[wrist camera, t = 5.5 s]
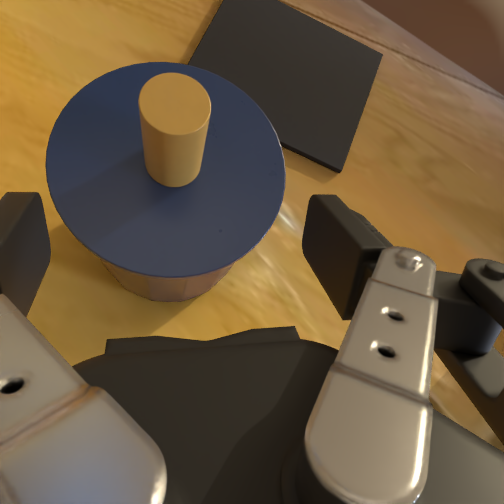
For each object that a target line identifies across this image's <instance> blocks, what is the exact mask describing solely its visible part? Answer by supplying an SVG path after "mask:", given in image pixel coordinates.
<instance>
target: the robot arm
mask: <svg viewBox="0 0 504 504" xmlns="http://www.w3.org/2000/svg"><path fill="white" fill-rule="evenodd" d="M302 249H303V254H304V256H305V258H306V260H307V262H308V263H309V265H310V267H311V268H312V270H313V272H314V273H315V275H316V277H317V278H318V280H319V282H320V283H321V285H322V287H323V288H324V290H325V291H326V293H327V295H328V296H329V298H330V300H331V301H332V303H333V305H334V306H335V308H336V310H337V311H338V313H339V315H340V316H341V318H342V320H351V322H350V325H349V327H348V330H347V332H346V335H345V337H344V340H343V342H342V345H341V347H340V349H339V350H337V349H334V348H332V347H329V346H327V345H324V344H321V343H317V342H314V341H309V340H303V339H300V337H299V335H298V333H297V331H296V328H295V326H289V327H275V328H261V329H251V330H247V331H243V332H240V333H236V334H232V335H229V336H225V337H221V338H217V339H214V340H209V341H199V340H190V339H181V338H172V337H163V336H148V337H134V338H119V339H107V342H106V349H105V354H103V355H100V356H96V357H93V358H91V359H88V360H85V361H83V362H81V363H78V364H76V365H74V366H72V367H71V366H70V365H69V363H68V362H67V361H66V360H65V359H64V358H63V357H62V356H61V355H60V354H59V353H58V352H57V351H56V349H55V348H54V347H53V346H52V345H51V344H50V343H49V342H48V341H47V340H46V339H45V338H44V337H43V335H42V334H41V333H40V332H39V331H38V330H37V329H36V328H35V327H34V326H33V325H32V324H31V323H30V321H29V320H28V319H27V318H26V317H27V314H28V312H29V310H30V307H31V305H32V303H33V300H34V298H35V296H36V293H37V291H38V289H39V286H40V284H41V282H42V279H43V277H44V274H45V272H46V270H47V267H48V265H49V262H50V256H51V247H50V240H49V234H48V229H47V224H46V219H45V214H44V208H43V203H42V199H41V196H40V195H39V193H38V192H7V193H6V194H5V195H4V196H3V197H2V199H1V200H0V504H504V453H503V452H502V451H500V450H499V449H497V448H495V447H494V446H492V445H491V444H489V443H487V442H486V441H484V440H483V439H481V438H479V437H478V436H476V435H475V434H473V433H471V432H470V431H468V430H467V429H465V428H463V427H462V426H460V425H459V424H457V423H455V422H454V421H452V420H451V419H449V418H447V417H446V416H444V415H443V414H441V413H439V412H438V411H436V410H435V409H433V408H432V404H431V403H430V402H429V390H430V380H431V370H432V360H433V350H434V351H435V353H436V354H437V355H438V357H439V358H440V359H441V361H442V362H443V363H444V365H445V366H446V368H447V369H448V370H449V372H450V373H451V374H452V376H453V377H454V378H455V380H456V381H457V382H458V384H459V385H460V387H461V388H462V389H463V391H464V392H465V393H466V395H467V396H468V397H469V399H470V400H471V401H472V403H473V404H474V406H475V407H476V408H477V410H478V411H479V412H480V414H481V415H482V416H483V418H484V419H485V420H486V422H487V423H488V425H489V426H490V427H491V429H492V430H493V431H494V433H495V434H496V435H497V437H498V438H499V439H500V441H501V442H502V444H503V445H504V358H503V356H502V355H501V354H500V353H499V352H498V351H497V350H496V349H495V348H494V347H493V345H494V343H495V341H496V339H497V337H498V335H499V333H500V332H501V330H502V328H503V329H504V264H502V263H499V262H496V261H492V260H488V259H471V260H469V261H468V262H467V263H466V266H465V268H464V270H463V273H462V274H456V273H449V272H443V271H436V264H435V262H434V261H433V260H432V259H431V258H430V257H428V256H427V255H425V254H423V253H421V252H419V251H417V250H414V249H410V248H406V247H398V246H393V245H392V244H391V243H390V242H389V241H388V240H387V239H386V238H385V237H384V236H383V235H382V234H381V233H380V232H378V230H377V229H376V228H375V227H374V226H373V225H371V223H370V222H369V221H368V220H367V219H366V218H365V217H364V216H362V215H360V214H359V213H357V212H355V211H353V210H351V209H349V208H348V207H347V206H346V205H345V204H344V203H343V202H342V201H341V199H340V198H339V197H338V196H336V195H312V196H311V198H310V200H309V204H308V210H307V215H306V221H305V227H304V232H303V238H302Z"/></svg>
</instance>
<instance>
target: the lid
mask: <svg viewBox="0 0 504 504" xmlns="http://www.w3.org/2000/svg"><path fill="white" fill-rule="evenodd" d="M46 176H47V183H48V187H49V191H50V195H51V198H52V200H53V203H54V205H55V208H56V210H57V212H58V213H59V215H60V217H61V218H62V220H63V222H64V223H65V225H66V226H67V227H68V229H69V230H70V231H71V232H72V234H73V235H74V236H75V237H76V239H77V240H78V241H79V242H80V243H82V244H83V245H84V246H85V247H86V248H87V249H88V250H89V251H90V252H92V253H93V254H95V255H96V256H97V257H99V258H100V259H102V260H103V261H105V262H107V263H109V264H111V265H113V266H114V267H116V268H118V269H121V270H124V271H126V272H129V273H132V274H135V275H139V276H144V277H148V278H155V279H165V280H174V279H188V278H195V277H200V276H204V275H207V274H211V273H214V272H216V271H219V270H221V269H223V268H226V267H228V266H230V265H231V264H233V263H235V262H236V261H238V260H239V259H241V258H242V257H244V256H245V255H246V254H247V253H248V252H250V251H251V250H252V249H253V248H254V247H255V246H256V245H257V244H258V243H259V242H260V241H261V240H262V238H263V237H264V236H265V234H266V233H267V232H268V230H269V229H270V227H271V226H272V224H273V222H274V220H275V218H276V216H277V214H278V212H279V209H280V206H281V203H282V200H283V195H284V190H285V177H286V172H285V161H284V156H283V152H282V147H281V145H280V142H279V139H278V136H277V134H276V132H275V130H274V128H273V126H272V124H271V122H270V121H269V120H268V118H267V117H266V115H265V114H264V112H263V111H262V110H261V109H260V107H259V106H258V105H257V104H256V103H255V102H254V101H253V100H252V99H251V98H250V97H249V96H248V95H247V94H246V93H245V92H243V91H242V90H241V89H239V88H238V87H237V86H235V85H234V84H232V83H231V82H229V81H227V80H226V79H224V78H222V77H220V76H218V75H216V74H214V73H211V72H209V71H207V70H203V69H200V68H197V67H194V66H190V65H185V64H180V63H170V62H148V63H140V64H134V65H130V66H126V67H122V68H119V69H116V70H114V71H111V72H108V73H106V74H104V75H102V76H100V77H99V78H97V79H95V80H93V81H92V82H90V83H89V84H88V85H86V86H85V87H83V88H82V89H81V90H80V91H79V92H78V93H77V94H76V95H75V96H74V97H73V98H72V99H71V100H70V101H69V102H68V104H67V105H66V106H65V107H64V109H63V110H62V112H61V113H60V115H59V117H58V118H57V120H56V122H55V124H54V127H53V129H52V132H51V134H50V137H49V142H48V146H47V151H46Z"/></svg>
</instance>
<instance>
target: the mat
mask: <svg viewBox="0 0 504 504" xmlns="http://www.w3.org/2000/svg"><path fill="white" fill-rule="evenodd" d="M382 56H383V54H381V53H379V52H377V51H375V50H373V49H371V48H369V47H368V46H366V45H364V44H362V43H360V42H358V41H356V40H354V39H352V38H350V37H348V36H346V35H344V34H342V33H340V32H338V31H336V30H334V29H332V28H330V27H329V26H327V25H325V24H323V23H321V22H319V21H317V20H315V19H313V18H311V17H309V16H307V15H305V14H303V13H301V12H299V11H297V10H295V9H293V8H291V7H290V6H288V5H286V4H284V3H282V2H280V1H278V0H223V2H222V4H221V6H220V7H219V9H218V11H217V13H216V15H215V16H214V18H213V20H212V22H211V24H210V25H209V27H208V29H207V31H206V33H205V34H204V36H203V38H202V40H201V42H200V43H199V45H198V47H197V49H196V51H195V52H194V54H193V56H192V58H191V60H190V61H189V63H188V65H190V66H194V67H197V68H200V69H203V70H207V71H209V72H211V73H214V74H216V75H218V76H220V77H222V78H224V79H226V80H227V81H229V82H231V83H232V84H234V85H235V86H237V87H238V88H239V89H241V90H242V91H243V92H245V93H246V94H247V95H248V96H249V97H250V98H251V99H252V100H253V101H254V102H255V103H256V104H257V105H258V106H259V107H260V109H261V110H262V111H263V112H264V114H265V115H266V117H267V118H268V120H269V121H270V122H271V124H272V126H273V128H274V130H275V132H276V134H277V136H278V139H279V142H280V145H281V146H283V147H285V148H287V149H289V150H291V151H294V152H296V153H298V154H300V155H302V156H304V157H306V158H308V159H310V160H313V161H315V162H317V163H319V164H321V165H323V166H325V167H327V168H329V169H331V170H334V171H336V172H338V173H340V172H341V171H342V169H343V166H344V163H345V160H346V157H347V155H348V152H349V149H350V146H351V143H352V141H353V138H354V135H355V132H356V129H357V126H358V124H359V121H360V118H361V115H362V112H363V109H364V107H365V104H366V101H367V98H368V95H369V92H370V90H371V87H372V84H373V81H374V78H375V75H376V73H377V70H378V67H379V64H380V61H381V59H382Z"/></svg>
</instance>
